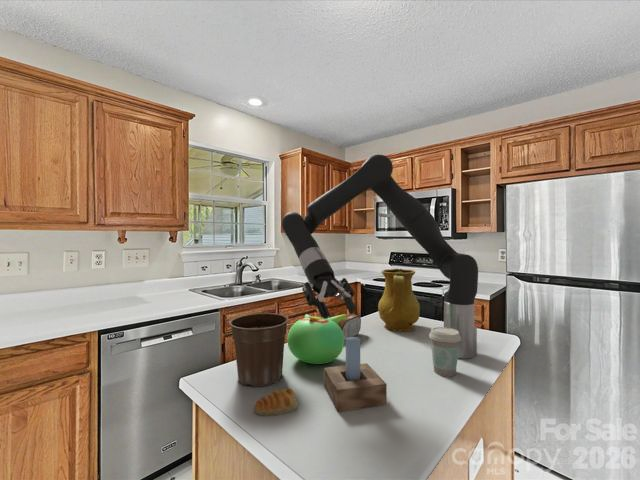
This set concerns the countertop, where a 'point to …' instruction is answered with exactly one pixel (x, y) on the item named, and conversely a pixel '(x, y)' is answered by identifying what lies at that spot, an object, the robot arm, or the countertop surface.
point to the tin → (350, 326)
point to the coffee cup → (445, 350)
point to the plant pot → (259, 347)
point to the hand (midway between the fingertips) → (340, 314)
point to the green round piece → (316, 339)
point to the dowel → (352, 359)
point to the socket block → (354, 388)
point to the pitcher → (398, 301)
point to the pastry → (276, 403)
